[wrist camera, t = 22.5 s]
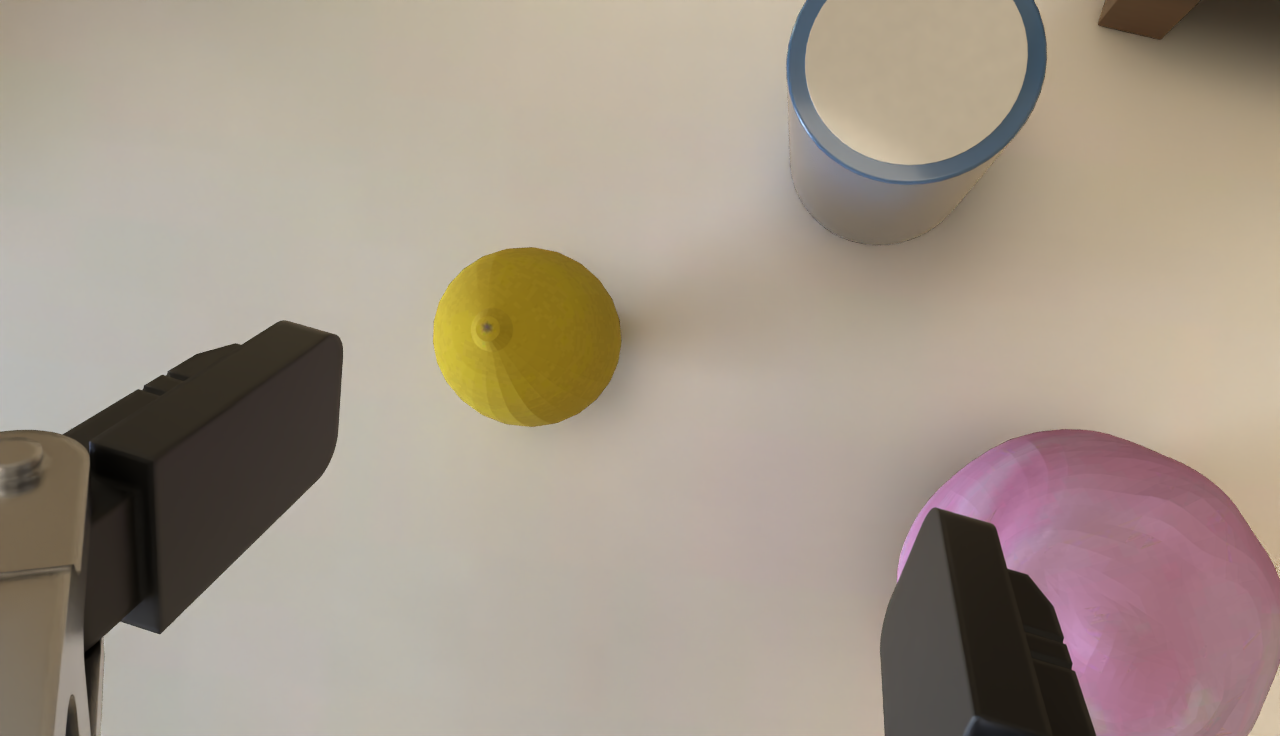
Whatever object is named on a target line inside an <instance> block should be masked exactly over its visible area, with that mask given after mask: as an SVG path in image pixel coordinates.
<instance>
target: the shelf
mask: <svg viewBox="0 0 1280 736" xmlns="http://www.w3.org/2000/svg"><path fill="white" fill-rule="evenodd" d="M1200 1H1201V0H1105V3H1104V6H1103V9H1102V12H1101V15H1100V18H1099V21H1098V25H1100V26H1104V27H1108V28H1113V29H1117V30H1121V31H1125V32H1130V33H1134V34H1138V35H1142V36H1147V37H1151V38H1155V39H1162V38H1163V37H1164V36H1165V35H1166V34H1167V33H1168V32H1169V31H1170V30H1171V29H1172V28H1173V27H1174V26H1175V25H1176V24H1177V23H1178V22H1179V21H1180V20H1181V19H1182V18H1183V17H1184V16H1185V15H1186V14H1187V13H1188V12H1189V11H1190V10H1191V9H1192V8H1194V7H1195V6H1196V5H1197V4H1198V3H1199V2H1200Z"/></svg>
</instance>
